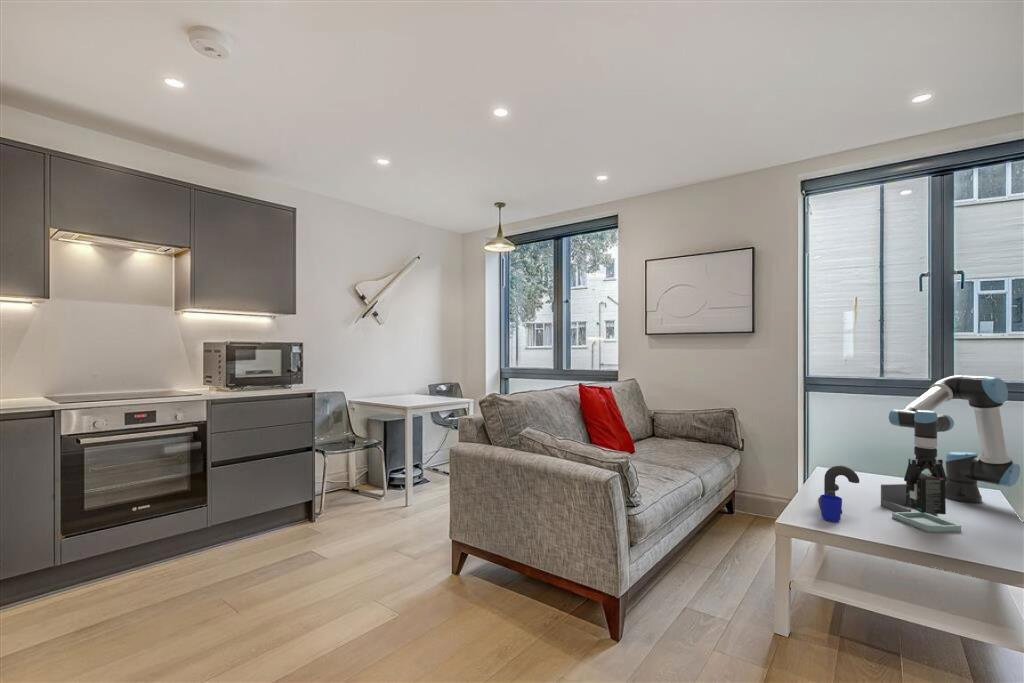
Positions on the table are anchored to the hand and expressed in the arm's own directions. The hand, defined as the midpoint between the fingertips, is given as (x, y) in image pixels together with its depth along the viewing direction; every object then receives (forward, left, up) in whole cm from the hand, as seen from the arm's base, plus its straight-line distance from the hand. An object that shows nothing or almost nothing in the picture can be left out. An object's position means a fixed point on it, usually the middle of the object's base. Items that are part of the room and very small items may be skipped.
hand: (925, 498), depth 209 cm
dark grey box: (0, 0, -5) cm, 5 cm away
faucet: (+21, -23, -12) cm, 33 cm away
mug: (+36, -10, -12) cm, 39 cm away
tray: (0, 0, -11) cm, 11 cm away
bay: (-9, -17, -11) cm, 22 cm away
